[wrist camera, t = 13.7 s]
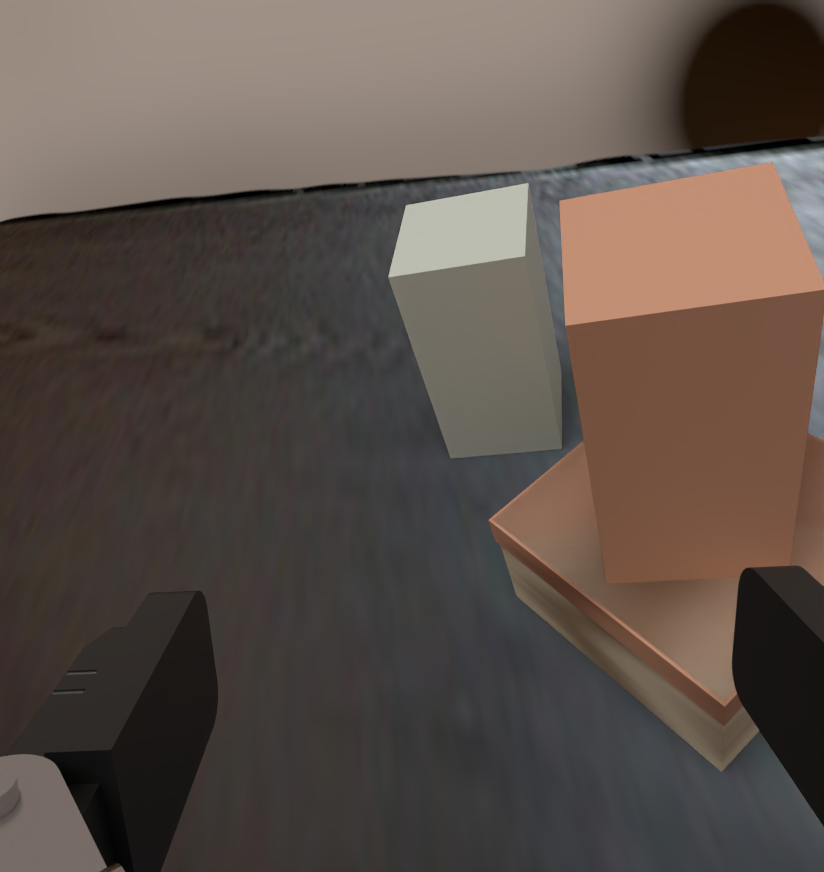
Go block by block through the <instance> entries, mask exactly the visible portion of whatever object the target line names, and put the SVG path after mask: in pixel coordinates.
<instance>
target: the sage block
mask: <svg viewBox="0 0 824 872" xmlns="http://www.w3.org/2000/svg"><path fill="white" fill-rule="evenodd" d="M388 278H389V281H390V284H391V287H392V290H393V292H394V295H395V298H396V301H397V304H398V307H399V310H400V313H401V316H402V319H403V322H404V324H405V327H406V330H407V333H408V336H409V339H410V342H411V345H412V348H413V351H414V353H415V356H416V359H417V362H418V365H419V368H420V371H421V374H422V377H423V380H424V383H425V385H426V388H427V391H428V394H429V397H430V400H431V403H432V406H433V409H434V412H435V414H436V417H437V420H438V423H439V426H440V429H441V432H442V435H443V438H444V441H445V443H446V446H447V449H448V452H449V455H450V458H463V457H475V456H486V455H498V454H510V453H521V452H533V451H545V450H556V449H562V373H561V366H560V361H559V355H558V349H557V344H556V338H555V332H554V326H553V321H552V315H551V309H550V304H549V298H548V292H547V287H546V281H545V275H544V270H543V264H542V258H541V252H540V247H539V241H538V235H537V230H536V224H535V218H534V213H533V207H532V201H531V195H530V190H529V184H528V183H527V184H521V185H516V186H510V187H505V188H499V189H494V190H488V191H483V192H477V193H472V194H466V195H461V196H455V197H450V198H444V199H439V200H433V201H428V202H422V203H417V204H411V205H406V208H405V212H404V216H403V220H402V224H401V228H400V232H399V236H398V240H397V244H396V248H395V252H394V256H393V260H392V265H391V269H390V273H389V277H388Z"/></svg>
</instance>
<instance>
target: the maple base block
mask: <svg viewBox="0 0 824 872" xmlns="http://www.w3.org/2000/svg"><path fill="white" fill-rule="evenodd" d="M489 523H490V526H491V529H492V532H493V536H494V539H495V541H496V542H497V543H498V544H499V545H501V548H502V551H503V554H504V557H505V561H506V564H507V567H508V570H509V573H510V576H511V580H512V583H513V586H514V589H515V592H516V595H517V597H518V598H520V599H521V600H522V601H523V602H524V603H525V604H527V605H528V606H529V607H530V608H531V609H532V610H534V611H535V612H536V613H537V614H538V615H539V616H541V617H542V618H543V619H544V620H545V621H546V622H547V623H549V624H550V625H551V626H552V627H553V628H554V629H556V630H557V631H558V632H559V633H560V634H561V635H563V636H564V637H565V638H566V639H567V640H568V641H570V642H571V643H572V644H573V645H574V646H575V647H577V648H578V649H579V650H580V651H581V652H582V653H584V654H585V655H586V656H587V657H588V658H589V659H591V660H592V661H593V662H594V663H595V664H596V665H598V666H599V667H600V668H601V669H602V670H603V671H605V672H606V673H607V674H608V675H609V676H610V677H612V678H613V679H614V680H615V681H616V682H617V683H619V684H620V685H621V686H622V687H623V688H624V689H626V690H627V691H628V692H629V693H630V694H631V695H633V696H634V697H635V698H636V699H637V700H638V701H640V702H641V703H642V704H643V705H644V706H645V707H646V708H648V709H649V710H650V711H651V712H652V713H653V714H655V715H656V716H657V717H658V718H659V719H660V720H662V721H663V722H664V723H665V724H666V725H667V726H669V727H670V728H671V729H672V730H673V731H674V732H676V733H677V734H678V735H679V736H680V737H681V738H683V739H684V740H685V741H686V742H687V743H688V744H690V745H691V746H692V747H693V748H694V749H695V750H697V751H698V752H699V753H700V754H701V755H702V756H704V757H705V758H706V759H707V760H708V761H709V762H711V763H712V764H713V765H714V766H715V767H716V768H718V769H719V770H720V771H721V772H722V771H723V770H724V769H725V768H726V767H727V766H728V765H729V763H730V762H731V761H732V760H733V759H734V758H735V757H736V756H737V755H738V754H739V753H740V751H741V750H742V749H743V748H744V747H745V746H746V745H747V744H748V743H749V742H750V741H751V740H752V738H753V737H754V736H755V735H756V734H757V733H758V732H759V729H758V728H757V726H756V725H755V723H754V722H753V720H752V719H751V717H750V716H749V714H748V713H747V711H746V710H745V708H744V707H743V705H742V703H741V702H740V700H739V697H738V695H737V692H736V689H735V685H734V680H733V674H732V652H733V640H734V628H735V617H736V605H737V594H738V584H739V579H740V577H731V578H712V579H694V580H675V581H656V582H637V583H617V584H607V583H606V577H605V571H604V564H603V558H602V552H601V545H600V539H599V533H598V527H597V520H596V514H595V508H594V502H593V495H592V489H591V483H590V476H589V470H588V464H587V458H586V451H585V445H584V441H583V442H582V443H580V444H579V445H578V446H577V447H576V448H574V449H573V450H572V451H571V452H570V453H568V454H567V455H566V456H565V457H564V458H562V459H561V460H560V461H559V462H558V463H556V464H555V465H554V466H553V467H552V468H550V469H549V470H548V471H547V472H546V473H544V474H543V475H542V476H541V477H540V478H538V479H537V480H536V481H535V482H534V483H532V484H531V485H530V486H529V487H528V488H526V489H525V490H524V491H523V492H522V493H520V494H519V495H518V496H517V497H516V498H514V499H513V500H512V501H511V502H510V503H508V504H507V505H506V506H505V507H504V508H503V509H501V510H500V511H499V512H498V513H497V514H495V515H494V516H493V517H492V518H491V519H489ZM794 565H797V566H801V567H802V568H804V569H805V570H806V571H807V572H808V573H809V574H810V575H812V576H813V577H814V578H815V579H816V580H817V581H818V582H819V583H820V584H821V585H822V586H824V441H823V440H821V439H819V438H817V437H815V436H813V435H811V434H809V433H807V441H806V448H805V455H804V462H803V470H802V477H801V484H800V492H799V499H798V506H797V513H796V521H795V528H794V535H793V543H792V550H791V557H790V564H789V566H794Z"/></svg>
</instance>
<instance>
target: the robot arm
mask: <svg viewBox="0 0 824 872" xmlns="http://www.w3.org/2000/svg"><path fill="white" fill-rule="evenodd" d="M732 674H733V680H734V685H735V689H736V692H737V695H738V697H739V700H740V702H741V703H742V705H743V707H744V708H745V710H746V711H747V713H748V714H749V716H750V717H751V719H752V720H753V722H754V723H755V725H756V726H757V728H758V729H759V731H760V732H761V734H762V735H763V737H764V738H765V740H766V741H767V743H768V744H769V746H770V747H771V749H772V750H773V751H774V753H775V754H776V756H777V757H778V759H779V760H780V762H781V763H782V765H783V766H784V768H785V769H786V771H787V772H788V774H789V775H790V777H791V778H792V780H793V781H794V783H795V784H796V786H797V787H798V789H799V790H800V792H801V793H802V795H803V796H804V798H805V799H806V801H807V802H808V804H809V805H810V807H811V808H812V810H813V811H814V813H815V814H816V816H817V817H818V819H819V820H820V822H821V823H822V824H823V826H824V586H822V585H821V584H820V583H819V582H818V581H817V580H816V579H815V578H814V577H813V576H812V575H810V574H809V573H808V572H807V571H806V570H805V569H804V568H802V567H801V566H797V565H794V566H771V567H749V568H745V569H744V570H743V571H742V573H741V575H740V579H739V584H738V594H737V605H736V617H735V628H734V640H733V652H732ZM217 703H218V685H217V676H216V669H215V661H214V654H213V646H212V639H211V632H210V624H209V617H208V610H207V604H206V600H205V597H204V595H203V593H202V592H201V591H181V592H158V593H150V594H148V595H147V596H146V598H145V599H144V601H143V602H142V604H141V605H140V607H139V608H138V610H137V612H136V613H135V615H134V616H133V618H132V619H131V621H130V622H129V624H128V625H127V627H116V628H111V629H110V630H108V631H107V632H106V633H104V634H103V635H101V636H100V637H99V638H97V639H96V640H94V641H93V642H92V643H90V644H89V645H87V646H86V647H85V648H84V649H83V650H82V651H81V653H80V654H79V655H78V657H77V658H76V660H75V661H74V662H73V664H72V665H71V667H70V668H69V669H68V671H67V675H64V676H63V678H62V679H61V680H60V682H59V683H58V685H57V686H56V687H55V689H54V693H53V695H50V696H49V697H48V698H47V700H46V701H45V703H44V704H43V705H42V707H41V708H40V710H39V711H38V712H37V714H36V715H35V717H34V718H33V719H32V721H31V722H30V723H29V725H28V726H27V728H26V729H25V730H24V732H23V733H22V735H21V736H20V737H19V739H18V740H17V741H16V743H15V744H14V746H13V747H12V748H11V750H10V751H9V753H8V754H7V755H6V756H4V757H0V872H160V871H161V869H162V866H163V863H164V861H165V858H166V855H167V852H168V850H169V847H170V844H171V841H172V839H173V836H174V833H175V830H176V828H177V825H178V822H179V819H180V817H181V814H182V811H183V809H184V806H185V803H186V800H187V798H188V795H189V792H190V789H191V787H192V784H193V781H194V778H195V776H196V773H197V770H198V768H199V765H200V762H201V759H202V757H203V754H204V751H205V748H206V746H207V743H208V740H209V737H210V735H211V732H212V729H213V726H214V723H215V719H216V713H217Z"/></svg>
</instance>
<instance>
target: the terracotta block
mask: <svg viewBox="0 0 824 872" xmlns="http://www.w3.org/2000/svg"><path fill="white" fill-rule="evenodd" d="M560 220H561V241H562V263H563V284H564V305H565V326H566V332H567V339H568V345H569V351H570V357H571V364H572V370H573V376H574V382H575V389H576V395H577V401H578V408H579V414H580V420H581V426H582V433H583V439H584V445H585V451H586V458H587V464H588V470H589V476H590V483H591V489H592V495H593V502H594V508H595V514H596V520H597V527H598V533H599V539H600V545H601V552H602V558H603V564H604V571H605V577H606V583H607V584H617V583H637V582H656V581H675V580H694V579H712V578H731V577H740V575H741V573H742V571H743V570H744V569H745V568H749V567H771V566H789V564H790V557H791V550H792V543H793V535H794V528H795V521H796V513H797V506H798V499H799V492H800V484H801V477H802V470H803V462H804V455H805V448H806V441H807V433H808V426H809V419H810V411H811V404H812V397H813V390H814V382H815V375H816V368H817V360H818V353H819V346H820V338H821V331H822V324H823V317H824V280H823V278H822V276H821V273H820V271H819V269H818V267H817V264H816V262H815V260H814V257H813V255H812V253H811V250H810V248H809V246H808V243H807V241H806V239H805V236H804V234H803V232H802V229H801V227H800V225H799V222H798V220H797V218H796V215H795V213H794V211H793V208H792V206H791V204H790V201H789V199H788V197H787V194H786V192H785V190H784V187H783V185H782V183H781V180H780V178H779V176H778V173H777V171H776V169H775V166H774V164H773V162H771V163H765V164H760V165H754V166H749V167H743V168H738V169H732V170H727V171H721V172H716V173H710V174H705V175H699V176H694V177H688V178H683V179H677V180H672V181H666V182H661V183H655V184H649V185H644V186H638V187H633V188H627V189H622V190H616V191H611V192H605V193H600V194H594V195H589V196H583V197H578V198H572V199H567V200H561V201H560Z"/></svg>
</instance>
